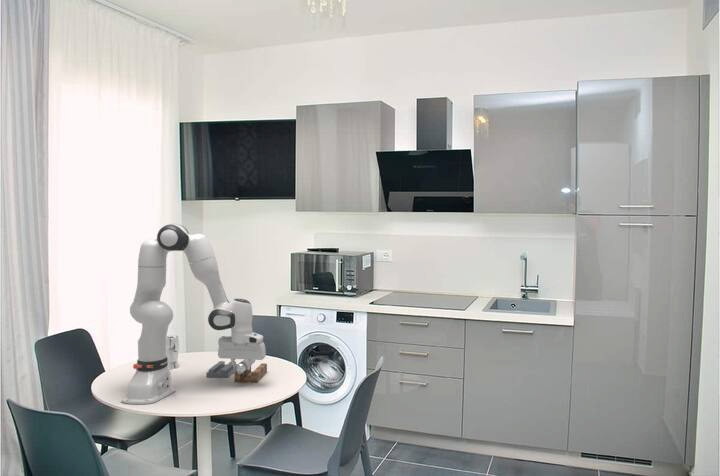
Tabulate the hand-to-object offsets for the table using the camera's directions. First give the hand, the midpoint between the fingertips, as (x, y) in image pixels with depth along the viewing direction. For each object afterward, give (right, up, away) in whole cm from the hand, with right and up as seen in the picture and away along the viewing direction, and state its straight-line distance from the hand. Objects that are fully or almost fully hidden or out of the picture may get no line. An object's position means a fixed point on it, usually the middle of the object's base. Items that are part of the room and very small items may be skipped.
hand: (241, 369), depth 240 cm
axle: (+1, -1, +5) cm, 5 cm away
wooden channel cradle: (+2, -7, +12) cm, 14 cm away
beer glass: (-40, -7, +32) cm, 52 cm away
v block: (-13, -7, +19) cm, 24 cm away
